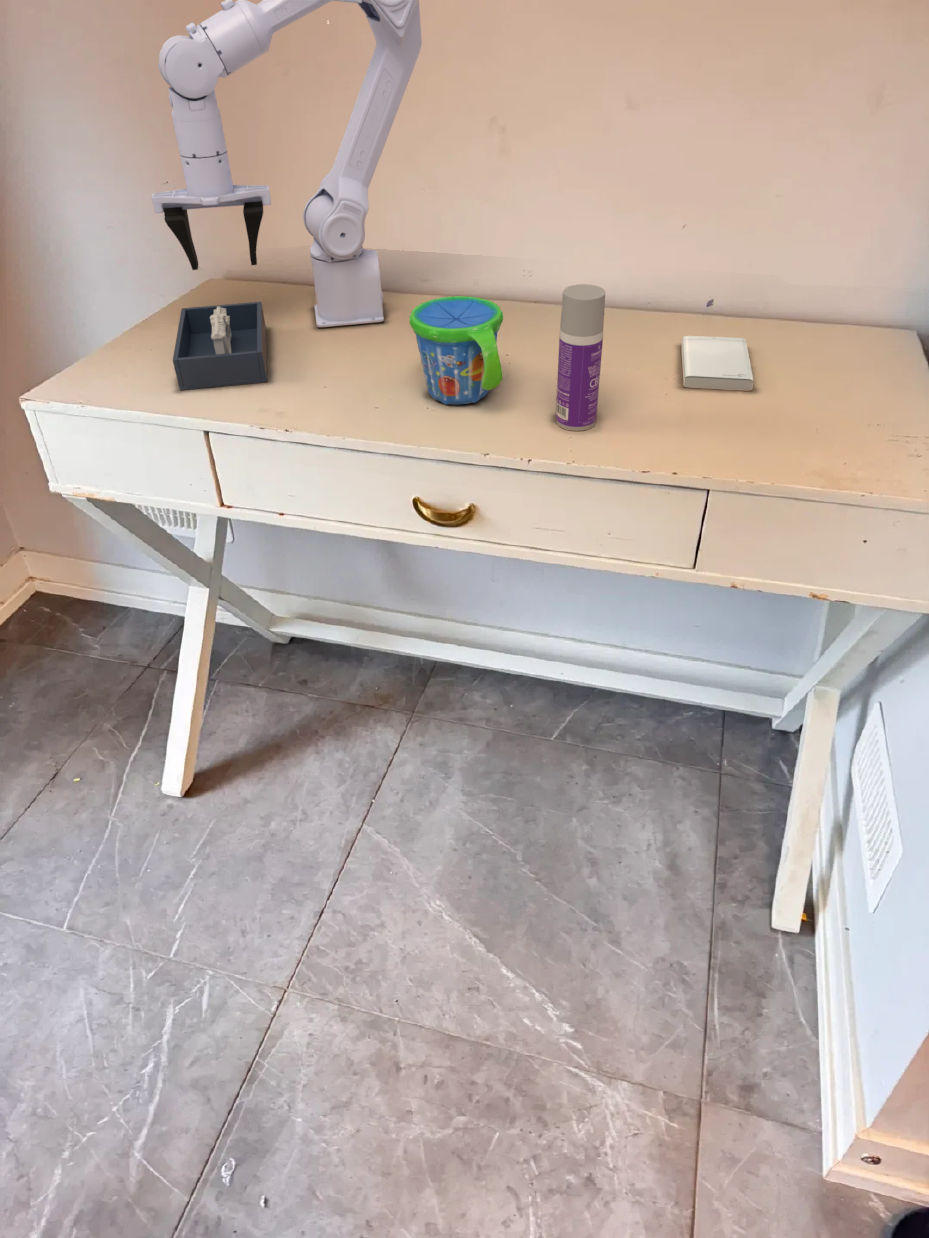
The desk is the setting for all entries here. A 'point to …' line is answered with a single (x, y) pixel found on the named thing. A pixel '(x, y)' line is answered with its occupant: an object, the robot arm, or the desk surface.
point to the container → (579, 356)
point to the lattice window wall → (221, 331)
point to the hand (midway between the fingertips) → (224, 265)
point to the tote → (215, 370)
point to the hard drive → (716, 363)
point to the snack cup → (458, 347)
